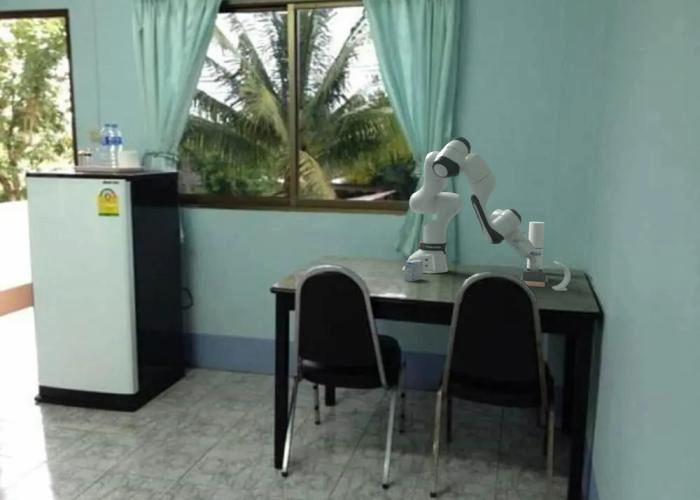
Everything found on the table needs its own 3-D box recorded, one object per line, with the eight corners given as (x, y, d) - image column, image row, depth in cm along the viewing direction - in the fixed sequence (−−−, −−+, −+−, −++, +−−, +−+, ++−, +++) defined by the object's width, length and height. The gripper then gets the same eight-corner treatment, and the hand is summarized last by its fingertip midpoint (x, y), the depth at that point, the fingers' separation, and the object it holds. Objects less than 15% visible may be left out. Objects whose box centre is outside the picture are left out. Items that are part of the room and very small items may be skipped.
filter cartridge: (528, 274, 284) (529, 252, 283) (528, 272, 289) (529, 251, 288) (540, 275, 283) (541, 253, 282) (540, 272, 288) (541, 251, 286)
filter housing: (520, 281, 282) (520, 271, 281) (520, 276, 294) (521, 267, 293) (547, 283, 279) (548, 273, 278) (547, 278, 290) (547, 268, 289)
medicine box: (415, 278, 286) (415, 259, 285) (422, 279, 283) (423, 260, 282) (404, 280, 281) (404, 261, 280) (411, 281, 278) (412, 262, 276)
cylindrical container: (542, 274, 300) (545, 223, 296) (527, 273, 301) (530, 222, 298) (540, 271, 307) (543, 221, 303) (526, 271, 308) (528, 221, 305)
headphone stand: (551, 288, 267) (553, 260, 266) (565, 288, 267) (567, 261, 266) (555, 290, 263) (557, 262, 261) (569, 290, 263) (571, 262, 261)
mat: (523, 285, 272) (523, 284, 272) (523, 282, 280) (523, 280, 280) (544, 287, 269) (544, 286, 269) (544, 283, 278) (544, 282, 278)
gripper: (517, 237, 277) (538, 260, 274) (524, 232, 295) (544, 253, 293) (506, 246, 280) (527, 269, 277) (514, 240, 298) (534, 262, 295)
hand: (536, 261), depth 285 cm, fingers closed on filter cartridge, 5 cm apart
